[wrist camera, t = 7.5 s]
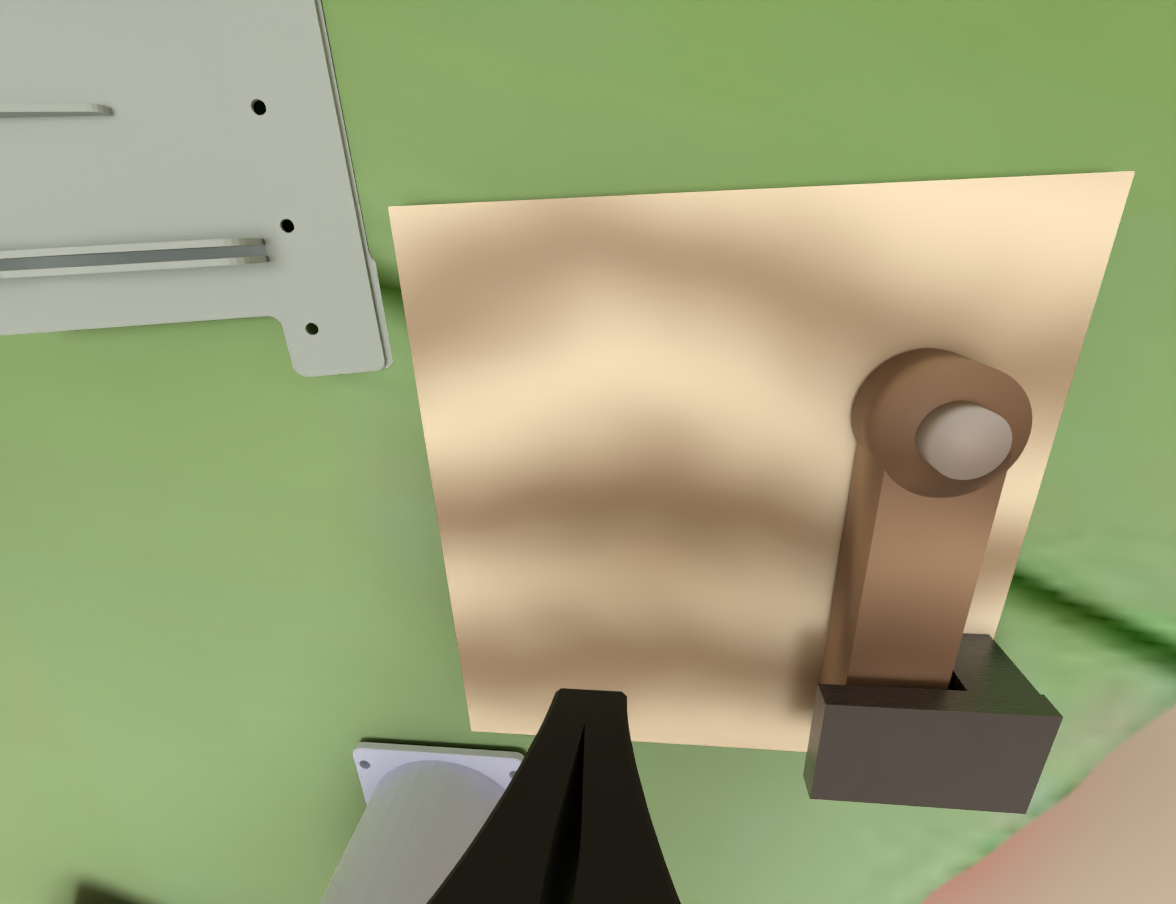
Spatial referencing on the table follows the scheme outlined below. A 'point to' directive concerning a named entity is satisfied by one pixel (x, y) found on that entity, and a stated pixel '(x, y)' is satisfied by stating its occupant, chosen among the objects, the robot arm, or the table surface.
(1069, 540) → the table surface
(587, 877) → the robot arm
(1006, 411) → the latch bar
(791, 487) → the base board
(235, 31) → the metal bracket
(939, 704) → the keeper
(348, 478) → the table surface
